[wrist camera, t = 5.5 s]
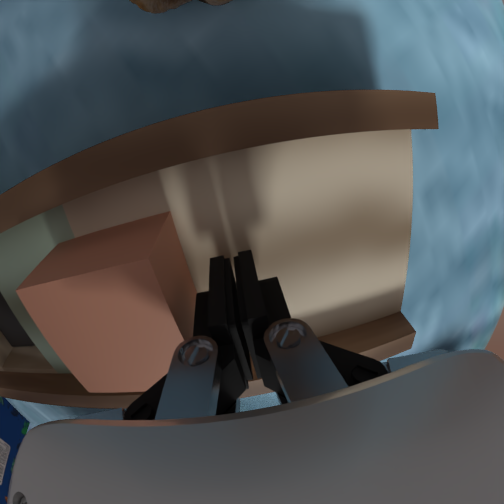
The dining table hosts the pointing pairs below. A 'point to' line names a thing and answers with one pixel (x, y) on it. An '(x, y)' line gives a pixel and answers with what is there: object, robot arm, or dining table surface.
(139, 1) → the lion figurine
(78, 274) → the block
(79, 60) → the dining table surface
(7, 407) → the pasta box
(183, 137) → the channel board
